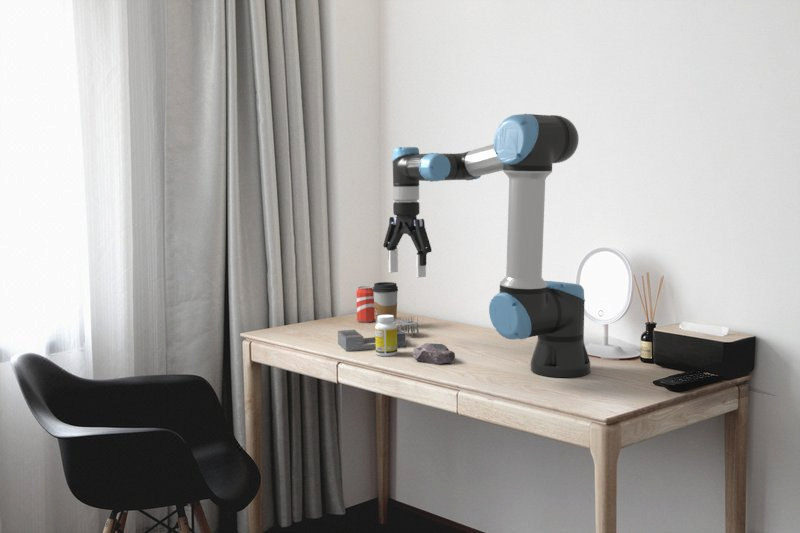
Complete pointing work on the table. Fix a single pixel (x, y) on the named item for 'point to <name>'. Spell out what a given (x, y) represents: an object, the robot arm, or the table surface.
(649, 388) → the table surface
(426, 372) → the table surface
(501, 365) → the table surface
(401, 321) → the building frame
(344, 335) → the grey recessed block
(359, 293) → the beverage can
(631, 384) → the table surface
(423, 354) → the rock
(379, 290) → the coffee cup
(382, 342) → the pill bottle
